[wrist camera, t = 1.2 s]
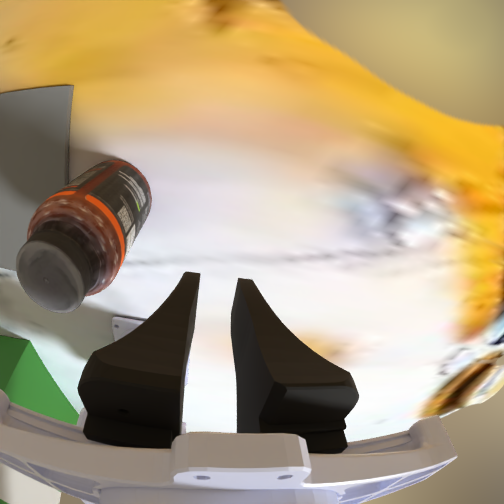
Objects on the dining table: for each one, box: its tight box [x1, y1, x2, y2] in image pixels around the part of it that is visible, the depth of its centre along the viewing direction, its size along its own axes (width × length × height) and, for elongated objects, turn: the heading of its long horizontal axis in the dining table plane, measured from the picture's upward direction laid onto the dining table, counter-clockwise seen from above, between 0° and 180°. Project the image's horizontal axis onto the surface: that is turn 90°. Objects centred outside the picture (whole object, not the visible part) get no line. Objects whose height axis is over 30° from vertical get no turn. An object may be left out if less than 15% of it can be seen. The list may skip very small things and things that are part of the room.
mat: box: [0, 86, 74, 271], centre depth 18 cm, size 17×15×1 cm
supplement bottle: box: [16, 160, 152, 313], centre depth 16 cm, size 6×6×11 cm
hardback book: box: [0, 335, 79, 504], centre depth 21 cm, size 18×7×24 cm, turn 179°
